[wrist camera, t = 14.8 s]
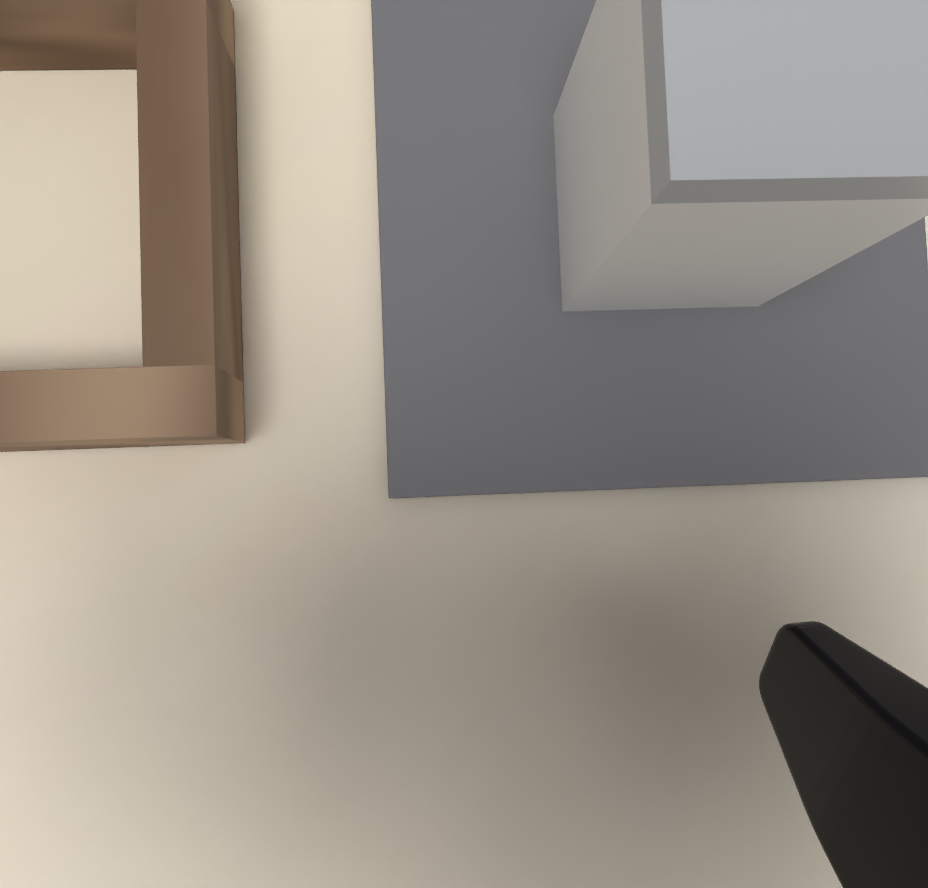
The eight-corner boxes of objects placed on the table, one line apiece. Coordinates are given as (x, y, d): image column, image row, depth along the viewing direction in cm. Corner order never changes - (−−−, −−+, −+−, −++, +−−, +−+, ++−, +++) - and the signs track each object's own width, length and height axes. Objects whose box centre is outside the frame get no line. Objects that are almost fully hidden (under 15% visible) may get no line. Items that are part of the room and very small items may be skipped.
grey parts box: (746, 113, 22) (979, -151, 13) (757, 306, 22) (1003, 174, 13) (553, 115, 21) (653, -154, 12) (562, 311, 21) (670, 180, 12)
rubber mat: (896, -48, 23) (905, -58, 22) (932, 476, 22) (942, 476, 22) (370, -48, 22) (369, -58, 21) (389, 498, 21) (388, 498, 21)
